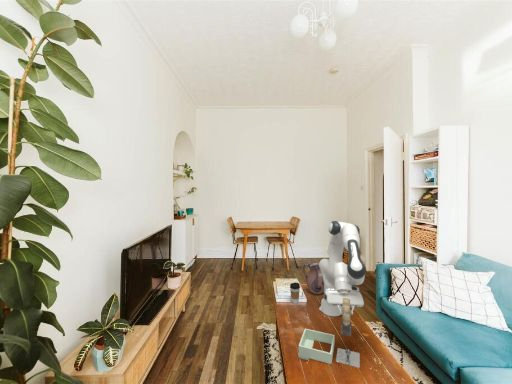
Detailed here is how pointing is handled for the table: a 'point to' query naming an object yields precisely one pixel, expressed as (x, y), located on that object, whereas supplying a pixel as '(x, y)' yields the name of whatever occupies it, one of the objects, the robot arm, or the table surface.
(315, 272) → the ceramic pitcher
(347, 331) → the strut
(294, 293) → the coffee cup
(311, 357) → the bin
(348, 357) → the stud plate
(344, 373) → the table surface
